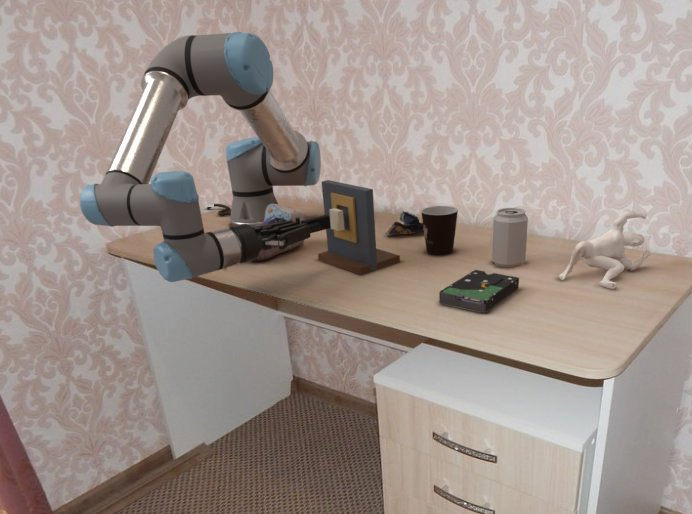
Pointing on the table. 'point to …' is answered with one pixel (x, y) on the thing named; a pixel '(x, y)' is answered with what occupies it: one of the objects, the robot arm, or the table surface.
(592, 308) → the table surface
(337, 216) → the switch paddle
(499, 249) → the can
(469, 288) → the disk drive
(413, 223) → the snack package
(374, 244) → the switch wall
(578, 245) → the person figurine
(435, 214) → the coffee mug
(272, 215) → the cell model
